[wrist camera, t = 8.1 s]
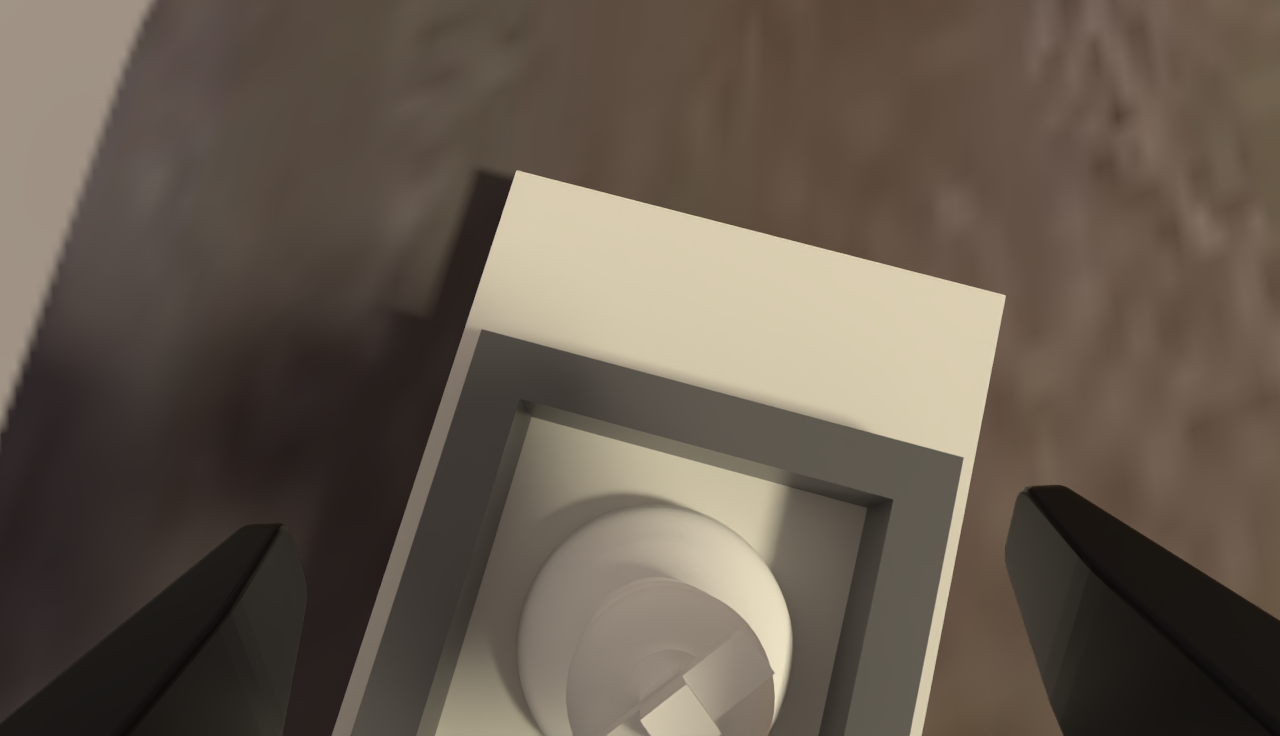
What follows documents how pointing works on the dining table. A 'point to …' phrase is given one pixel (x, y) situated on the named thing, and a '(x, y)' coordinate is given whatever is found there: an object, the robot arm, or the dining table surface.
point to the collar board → (686, 454)
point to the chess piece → (654, 630)
